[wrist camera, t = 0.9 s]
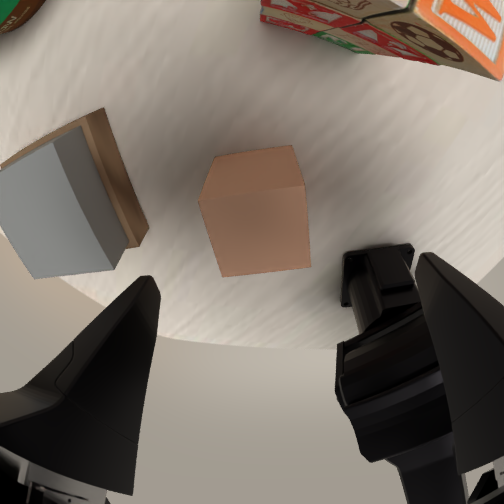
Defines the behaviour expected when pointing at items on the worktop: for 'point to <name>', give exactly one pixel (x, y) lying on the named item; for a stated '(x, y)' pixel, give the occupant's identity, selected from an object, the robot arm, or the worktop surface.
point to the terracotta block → (256, 212)
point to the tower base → (105, 171)
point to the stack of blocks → (404, 29)
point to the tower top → (60, 210)
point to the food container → (17, 13)
